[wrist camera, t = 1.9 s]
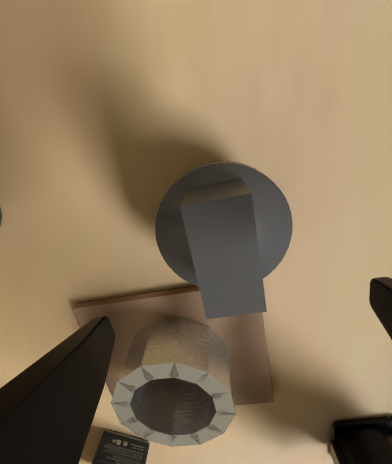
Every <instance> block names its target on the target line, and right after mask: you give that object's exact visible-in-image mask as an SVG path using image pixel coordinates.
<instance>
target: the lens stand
mask: <svg viewBox="0 0 392 464" xmlns="http://www.w3.org/2000/svg"><path fill="white" fill-rule="evenodd" d="M72 310H73V313H74V315H75V317H76V319H77V321H78V323H79V325H80V328H81V327H83V326H84V325H85V324H87V323H88V322H89V321H91V320H92V319H93V318H95V317H98V316H108V318H109V320H110V322H111V324H112V327H113V329H114V332H115V343H114V347H113V351H112V356H111V360H110V365H109V369H108V373H107V377H106V383H107V385H108V388H109V390H110V392H111V394H112V396H113V394H114V391H115V388H116V385H117V381H118V378H119V376H120V373H121V370H122V368H123V365H124V362H125V359H126V357H127V354H128V351H129V349H130V346H131V343H132V341H133V338H134V335H135V334H137V333H138V332H140V331H141V330H142V329H144V328H145V327H147V326H148V325H149V324H151V323H152V322H154V321H159V320H167V319H175V318H185V319H188V320H191V321H194V322H198V323H201V324H204V325H208V326H209V327H210V328H212V329H213V330H214V331H215V332H216V333H217V334H218V335H219V336H220V337H221V338H222V339H223V340H224V341H225V342H226V343H227V347H228V351H229V356H230V361H231V369H232V379H233V390H234V401H235V405H245V404H257V403H269V402H274V399H273V391H272V384H271V376H270V369H269V361H268V354H267V346H266V339H265V331H264V324H263V316H262V312H260V313H252V314H244V315H236V316H229V317H221V318H213V319H206V316H205V311H204V307H203V303H202V298H201V294H200V290H199V287H198V286H192V287H185V288H178V289H171V290H165V291H158V292H151V293H144V294H137V295H130V296H123V297H116V298H109V299H103V300H96V301H89V302H82V303H76V305H75V306H74V307H73V308H72ZM164 380H167V381H171V382H174V383H178V384H180V383H190V382H188V381H185V380H181V379H178V378H164Z"/></svg>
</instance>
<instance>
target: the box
mask: <svg viewBox="0 0 392 464" xmlns="http://www.w3.org/2000/svg"><path fill="white" fill-rule="evenodd" d="M148 449H149V442H148V441H144V440H141V439H137V438H134V437H131V436H128V435H124V434H120V433H116V432H113V431H109V430H106V431H104V432H103V435H102V438H101V441H100V443H99V446H98V449H97V452H96V454H95V457H94V460H93V463H92V464H146V459H147V454H148Z"/></svg>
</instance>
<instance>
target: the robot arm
mask: <svg viewBox="0 0 392 464" xmlns="http://www.w3.org/2000/svg"><path fill="white" fill-rule="evenodd" d="M369 301H370V305H371V307H372V309H373V310H374V312H375V314H376V315H377V317H378V318H379V320H380V322H381V323H382V325H383V326H384V328H385V330H386V331H387V333H388V334H389V336H390V338H391V339H392V278H389V277H380V278H373V279H372V280H371V282H370V296H369ZM114 343H115V332H114V329H113V327H112V324H111V322H110V320H109V318H108V316H98V317H95V318H93V319H92V320H91V321H89V322H88V323H87V324H85V325H84V326H83V327H81V328H80V329H79V330H77V331H76V332H75V333H73V334H72V335H71V336H69V337H68V338H67V339H65V340H64V341H63V342H61V343H60V344H59V345H57V346H56V347H55V348H53V349H52V350H51V351H49V352H48V353H47V354H45V355H44V356H43V357H41V358H40V359H39V360H37V361H36V362H35V363H33V364H32V365H31V366H29V367H28V368H27V369H26V370H24V371H23V372H22V373H20V374H19V375H18V376H16V377H15V378H14V379H12V380H11V381H10V382H8V383H7V384H6V385H4V386H3V387H2V388H0V464H78V463H79V460H80V457H81V454H82V451H83V448H84V445H85V442H86V439H87V436H88V433H89V430H90V427H91V424H92V421H93V418H94V415H95V412H96V409H97V406H98V403H99V400H100V397H101V394H102V391H103V388H104V385H105V381H106V377H107V373H108V369H109V365H110V360H111V356H112V351H113V347H114ZM330 449H331V457H332V460H333V462H334V464H392V418H381V419H367V420H353V421H340V422H334V423H333V425H332V439H331V441H330Z"/></svg>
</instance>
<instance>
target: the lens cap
mask: <svg viewBox="0 0 392 464" xmlns="http://www.w3.org/2000/svg"><path fill="white" fill-rule="evenodd" d="M155 231H156V240H157V244H158V247H159V250H160V252H161V254H162V256H163V258H164V260H165V261H166V263H167V264H168V266H169V267H170V268H171V269H172V270H173V271H174V272H175V273H176V274H177V275H178V276H180V277H181V278H183V279H184V280H186V281H187V282H189V283H191V284H193V285H196V286H198V287H199V290H200V294H201V298H202V303H203V307H204V311H205V316H206V319H213V318H221V317H229V316H236V315H244V314H252V313H260V312H267V311H266V303H265V295H264V287H263V278H264V277H266V276H267V275H268V274H270V273H271V272H272V271H273V270H274V269H275V268H276V267H277V265H278V264H279V263H280V262H281V260H282V259H283V257H284V255H285V254H286V251H287V249H288V247H289V244H290V240H291V235H292V216H291V211H290V208H289V205H288V203H287V200H286V198H285V196H284V195H283V193H282V192H281V190H280V189H279V188H278V187H277V186H276V184H275V183H274V182H273V181H271V180H270V179H269V178H268V177H267V176H265V175H264V174H263V173H261V172H259V171H258V170H256V169H255V168H252V167H250V166H248V165H245V164H241V163H237V162H230V161H218V162H211V163H207V164H203V165H200V166H198V167H196V168H193V169H192V170H190V171H188V172H187V173H185V174H184V175H183V176H181V177H180V178H179V179H178V180H177V181H176V182H175V183H174V184H173V185H172V187H171V188H170V189H169V191H168V192H167V194H166V195H165V197H164V198H163V200H162V202H161V204H160V207H159V210H158V213H157V217H156V226H155Z"/></svg>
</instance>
